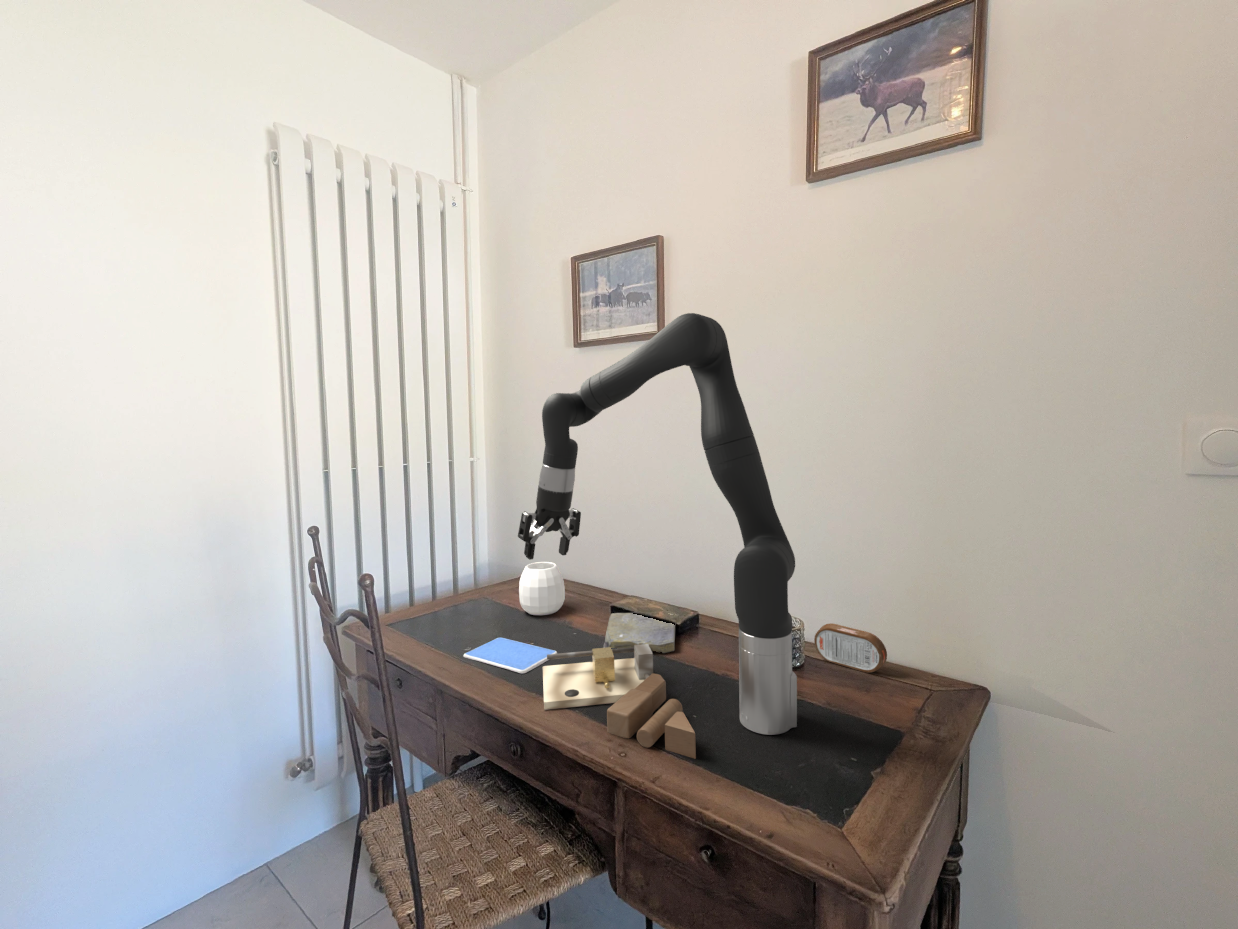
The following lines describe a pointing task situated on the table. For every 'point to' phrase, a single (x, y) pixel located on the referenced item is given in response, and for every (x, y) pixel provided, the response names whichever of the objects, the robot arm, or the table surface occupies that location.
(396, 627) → the table surface
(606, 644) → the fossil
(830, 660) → the tin
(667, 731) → the wooden block set
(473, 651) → the tablet computer
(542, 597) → the white faceted vase
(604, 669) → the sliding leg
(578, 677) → the cream panel
